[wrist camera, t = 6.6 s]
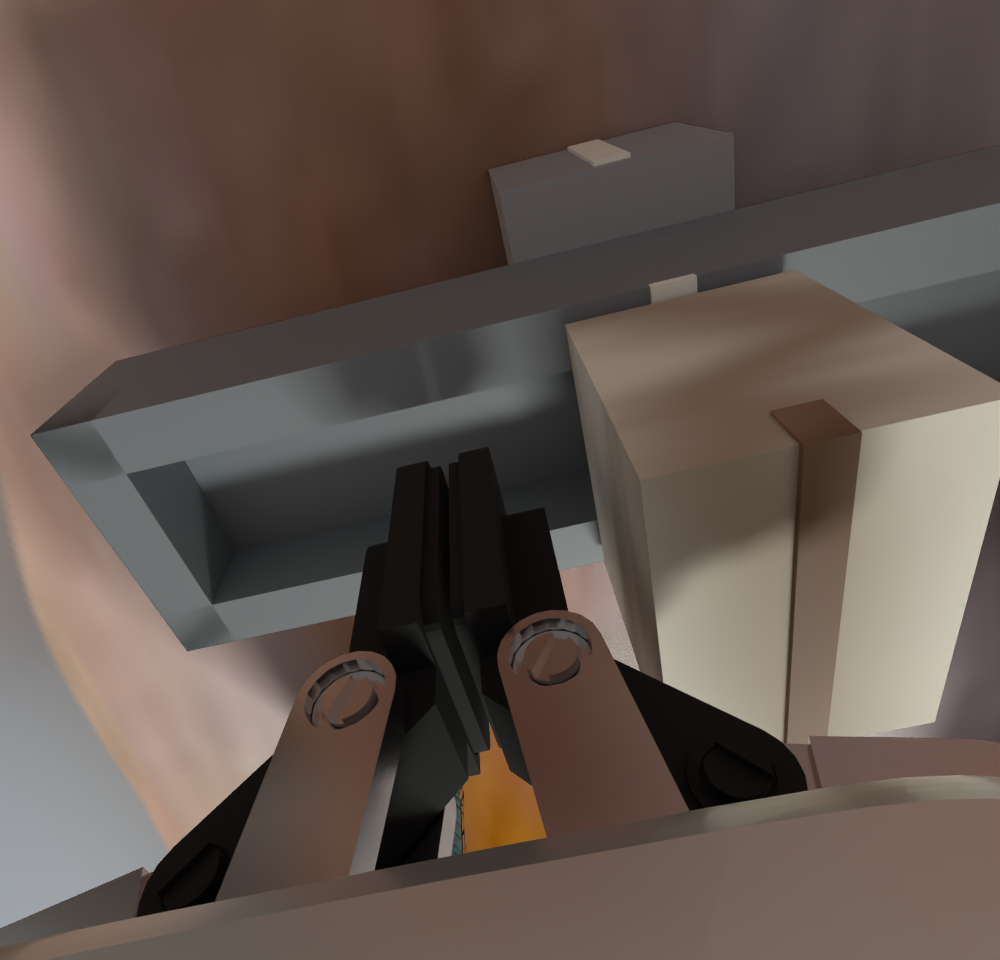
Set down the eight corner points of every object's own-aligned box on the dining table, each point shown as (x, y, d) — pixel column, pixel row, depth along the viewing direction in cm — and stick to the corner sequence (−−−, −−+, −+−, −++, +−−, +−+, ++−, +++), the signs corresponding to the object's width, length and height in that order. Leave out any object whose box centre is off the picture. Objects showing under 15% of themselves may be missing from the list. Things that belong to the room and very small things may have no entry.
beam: (1048, 22, 16) (1464, -15, 9) (977, 355, 21) (1217, 481, 14) (148, 251, 17) (-31, 358, 11) (282, 513, 22) (215, 694, 16)
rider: (747, 240, 12) (1029, 394, 6) (747, 477, 15) (938, 730, 9) (548, 289, 13) (641, 481, 7) (587, 512, 16) (675, 781, 10)
